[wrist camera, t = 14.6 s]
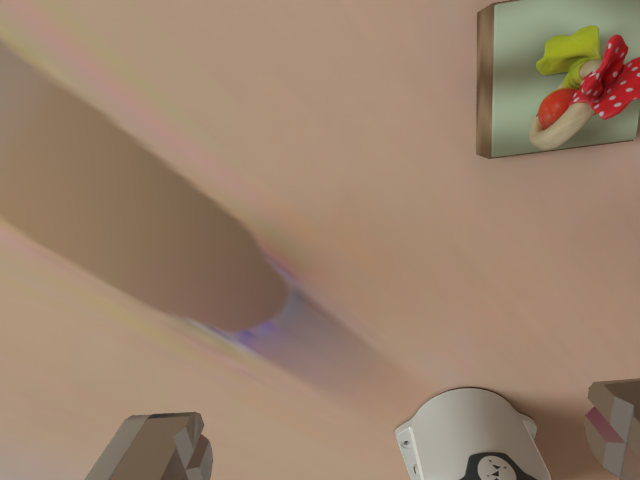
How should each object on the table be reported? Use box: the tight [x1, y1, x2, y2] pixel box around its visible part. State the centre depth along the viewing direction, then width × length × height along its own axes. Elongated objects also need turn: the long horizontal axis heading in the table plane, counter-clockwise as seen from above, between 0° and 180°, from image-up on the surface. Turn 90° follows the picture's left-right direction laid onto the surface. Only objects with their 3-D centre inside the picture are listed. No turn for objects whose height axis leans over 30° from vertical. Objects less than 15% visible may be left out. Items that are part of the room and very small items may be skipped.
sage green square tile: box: [476, 0, 640, 159], centre depth 34 cm, size 13×13×4 cm
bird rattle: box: [529, 25, 640, 150], centre depth 29 cm, size 6×11×9 cm
